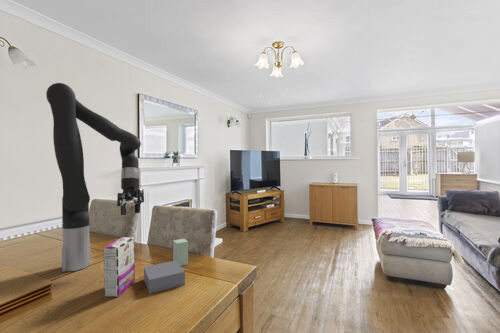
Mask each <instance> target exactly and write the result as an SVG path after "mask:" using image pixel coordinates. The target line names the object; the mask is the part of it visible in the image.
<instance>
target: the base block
mask: <svg viewBox="0 0 500 333" xmlns="http://www.w3.org/2000/svg"><path fill="white" fill-rule="evenodd" d="M143 281H144V283H145V286H146V289H147V291H148V294H149V295H150V294H154V293H157V292H161V291H165V290H170V289H174V288H178V287H181V286H185V285H186V271H185V270H184V268H183V266H180V265H179V263H178V262H177V261H167V262H161V263H157V264H153V265H148V266H143Z"/></svg>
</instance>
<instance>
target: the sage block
mask: <svg viewBox="0 0 500 333" xmlns="http://www.w3.org/2000/svg"><path fill="white" fill-rule="evenodd" d="M172 245H173V246H172V247H173V249H172V253H173V254H172V258H173V261H177V262H178V263H179V265H180V266H181V267H183V266H184V267H185V266H188V265H189V241H188V240H187V239H186V238H180V239H173V241H172Z"/></svg>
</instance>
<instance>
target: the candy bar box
mask: <svg viewBox="0 0 500 333" xmlns="http://www.w3.org/2000/svg"><path fill="white" fill-rule="evenodd" d="M135 264H136V263H135V237H134V236H133V237H131V236H130V237H129V236H127V237H126V236H123V237H120V238H119V239H116V240H115V241H113V242H112V243H110V244H107V245H106V246H105V247H103V271H104V272H103V276H104V297H107V298H113V297H114V298H116V297H117V298H118V297H119V298H120V296H121V295H123V293H124V292H125V291H126V290H127V289H128V288H129V287H130V286H132V285H133V283H134V282H136V278H135V275H136V274H135V272H136V271H135V270H136V269H135Z"/></svg>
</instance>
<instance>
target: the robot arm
mask: <svg viewBox="0 0 500 333" xmlns="http://www.w3.org/2000/svg"><path fill="white" fill-rule="evenodd" d="M45 93H46V94H45V95H46V100H47V102H48V104H49V106H50V109H51V114H52V119H53V129H52V130H53V131H52V133H53V135H52V136H53V137H52V138H53V147H54V148H53V149H54V154H55V160H56V162H57V166H58V169H59V173H60V176H61V180H62V198H61V201H62V204H61V205H62V207H61V208H62V209H61V211H62V212H61V214H62V218H61V220H62V221H61V222H62V225H61V226H62V247H61V272H62V273H64V272H76V271H79V270H83V269H85V268H87V267H89V266H90V258H91V256H90V255H91V254H90V248H91V247H90V245H91V244H90V243H91V242H90V204H89V203H90V200H91V198H90V194H89V191H88V187H87V183H86V179H85V160H84V159H85V158H84V150H83V143H82V137H81V133H80V132H81V131H80V129H79V125H78V122H77V120H79V121H81V122H82V123H84V124H85V125H87V126H88V127H90V128H92V129H93V130H94V131H96V132H97V133H99V134H100V136H101V135H102V136H103V137H105V138H106V139H108V140H110V141H111V142H114V141H115V142H118V143H119V154H120V158H121V173H120V189H121V190H122V192H117V200H116V206H117V207H120V215H121V216H126V215H127V205H128V203H130V202H131V201H132V202H133V203H134V214H141V213H140V212H141V204H142V203H144V202H145V193H144V192H145V191H144V189H143V188H140V169H139V166H140V165H139V158H138V157H137V156H136V153H135V152H136V151H137V150H138V149H139V148H141V144H142V143H141V140H140V138H138V136H136V135H135V134H133V133H131V132H129V131H127V130H125V129H122V128H120V127H119V126H118V125H116V124H115V123H114V122H112V121H111V120H109V119H107V118H106V117H104V116H103V115H100V114H99V113H97V112H94V111H92V110H91V109H89V108H88V107H86V106H84V105H83V104H82V103H81V102H80V101H79V100H78V99H77V98H76V92H75V91H74V90H73V88H71V87H70V86H69V85H68V84H65V83H63V82H56V83H55V82H54V83H52V84H51V85H50V86H48V88H47V89H46V92H45Z"/></svg>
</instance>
